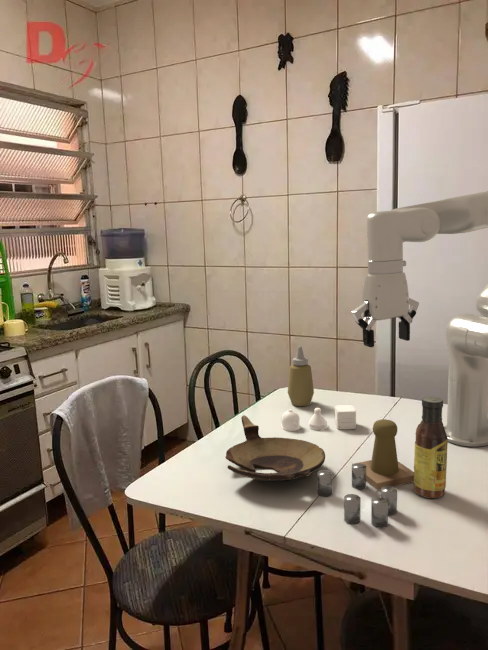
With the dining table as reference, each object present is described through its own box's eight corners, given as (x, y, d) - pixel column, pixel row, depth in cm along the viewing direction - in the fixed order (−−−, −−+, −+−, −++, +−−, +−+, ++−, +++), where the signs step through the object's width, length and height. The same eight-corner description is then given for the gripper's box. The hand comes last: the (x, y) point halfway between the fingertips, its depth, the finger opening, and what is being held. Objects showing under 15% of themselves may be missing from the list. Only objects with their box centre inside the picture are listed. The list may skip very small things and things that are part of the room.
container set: (353, 423, 150) (353, 404, 149) (356, 430, 145) (356, 411, 144) (280, 424, 151) (280, 406, 150) (281, 431, 146) (280, 412, 145)
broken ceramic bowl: (225, 503, 110) (223, 468, 109) (226, 443, 140) (225, 415, 138) (334, 498, 110) (334, 463, 109) (313, 440, 140) (312, 411, 138)
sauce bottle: (441, 502, 107) (445, 407, 103) (409, 495, 110) (411, 402, 106) (448, 488, 112) (452, 397, 109) (418, 481, 116) (420, 392, 112)
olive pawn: (400, 475, 115) (401, 427, 113) (371, 474, 116) (371, 426, 114) (397, 463, 121) (398, 416, 119) (369, 462, 122) (369, 416, 120)
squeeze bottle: (286, 407, 164) (285, 350, 160) (288, 399, 172) (287, 343, 168) (313, 408, 163) (312, 350, 159) (314, 399, 170) (313, 343, 167)
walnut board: (390, 462, 125) (390, 456, 125) (417, 481, 116) (417, 474, 116) (352, 470, 122) (352, 463, 122) (377, 490, 113) (377, 483, 113)
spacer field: (361, 481, 117) (361, 462, 116) (409, 521, 101) (410, 499, 100) (315, 491, 113) (315, 471, 112) (357, 534, 97) (357, 511, 97)
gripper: (406, 263, 126) (407, 334, 130) (342, 270, 120) (345, 345, 124) (428, 264, 120) (428, 340, 123) (361, 273, 114) (364, 352, 117)
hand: (386, 342), depth 123 cm, fingers open, 9 cm apart
